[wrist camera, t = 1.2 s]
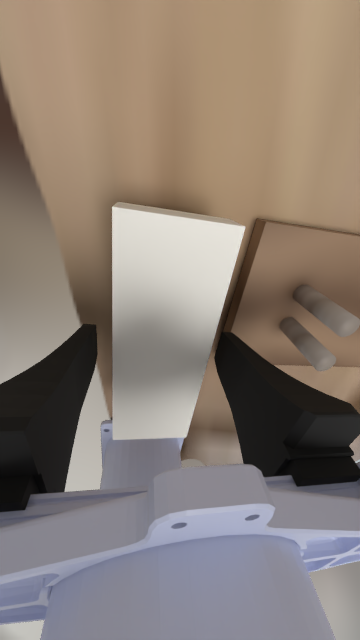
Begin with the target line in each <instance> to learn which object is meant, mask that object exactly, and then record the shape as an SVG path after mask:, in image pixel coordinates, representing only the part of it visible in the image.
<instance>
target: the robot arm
mask: <svg viewBox="0 0 360 640" xmlns="http://www.w3.org/2000/svg"><path fill="white" fill-rule="evenodd" d="M96 359H97V333H96V325H91V324H84V325H82V326H81V327H80V328H79V329H78V330H77V331H76V332H75V333H74V334H73V335H72V336H71V337H70V338H69V339H68V340H67V341H65V342H64V343H63V344H62V345H61V346H60V347H58V348H57V349H56V350H55V351H53V352H52V353H51V354H50V355H48V356H47V357H46V358H44V359H43V360H41V361H40V362H38V363H37V364H35V365H34V366H32V367H31V368H29V369H28V370H26V371H24V372H22V373H20V374H19V375H17V376H15V377H13V378H12V379H10V380H8V381H6V382H4V383H2V384H0V625H2V624H11V623H20V622H30V621H39V620H45V621H44V626H43V630H42V634H41V638H40V640H336V639H335V636H334V634H333V631H332V629H331V627H330V624H329V622H328V620H327V617H326V614H325V612H324V610H323V607H322V605H321V602H320V600H319V597H318V595H317V593H316V590H315V588H314V585H313V583H312V580H311V578H310V575H309V572H313V571H318V570H322V569H326V568H330V567H335V566H338V565H343V564H347V563H351V562H356V561H360V462H358V463H355V462H354V460H353V459H352V457H351V456H353V455H354V452H353V451H352V450H351V448H350V447H349V445H350V444H351V443H352V442H353V441H354V440H355V439H356V438H357V437H358V435H359V434H360V414H359V413H358V412H357V411H356V409H355V408H354V407H353V406H352V405H351V404H350V403H347V402H345V401H342V400H340V399H337V398H335V397H332V396H329V395H327V394H325V393H323V392H320V391H318V390H316V389H314V388H312V387H310V386H308V385H306V384H304V383H302V382H300V381H298V380H296V379H295V378H293V377H291V376H289V375H288V374H286V373H284V372H283V371H281V370H280V369H278V368H277V367H275V366H274V365H272V364H271V363H270V362H268V361H267V360H265V359H264V358H263V357H262V356H260V355H259V354H258V353H256V352H255V351H254V350H253V349H252V348H250V347H249V346H248V345H247V344H246V343H244V342H243V341H242V340H241V339H240V338H239V337H237V336H236V335H235V334H233V333H232V332H222V334H221V337H220V340H219V344H218V347H217V350H216V354H215V357H214V359H215V364H216V368H217V373H218V375H219V378H220V381H221V384H222V386H223V389H224V391H225V394H226V397H227V399H228V402H229V405H230V408H231V411H232V414H233V418H234V422H235V426H236V430H237V434H238V439H239V443H240V448H241V453H242V458H243V463H244V464H228V465H212V466H196V467H182V466H181V457H180V451H181V447H182V444H183V440H184V438H157V439H129V440H113V420H105V421H103V422H102V423H101V444H102V467H103V472H102V478H101V485H100V490H87V491H74V492H64V490H65V484H66V479H67V474H68V469H69V463H70V458H71V453H72V448H73V444H74V439H75V434H76V430H77V425H78V420H79V416H80V412H81V408H82V405H83V402H84V399H85V396H86V393H87V390H88V388H89V384H90V382H91V378H92V375H93V373H94V369H95V364H96Z"/></svg>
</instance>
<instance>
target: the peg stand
mask: <svg viewBox="0 0 360 640" xmlns="http://www.w3.org/2000/svg"><path fill="white" fill-rule="evenodd" d="M223 332H232V333H233V334H235V335H236V336H237V337H239V338H240V339H241V340H242V341H243V342H244V343H246V344H247V345H248V346H249V347H250V348H252V349H253V350H254V351H255V352H256V353H258V354H259V355H260V356H262V357H263V358H264V359H265V360H267V361H268V362H270V363H271V364H272V365H301V366H313V367H314V368H315V369H316V370H317V371H325V370H328V369H329V368H331V367H332V366H338V367H360V235H357V234H351V233H345V232H338V231H332V230H326V229H319V228H313V227H307V226H301V225H294V224H288V223H282V222H275V221H269V220H263V219H257V220H256V223H255V226H254V230H253V233H252V236H251V240H250V243H249V246H248V250H247V253H246V256H245V260H244V263H243V266H242V270H241V273H240V276H239V280H238V283H237V286H236V290H235V293H234V296H233V300H232V303H231V306H230V310H229V313H228V316H227V320H226V323H225V326H224V330H223Z"/></svg>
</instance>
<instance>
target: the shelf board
mask: <svg viewBox="0 0 360 640" xmlns="http://www.w3.org/2000/svg"><path fill="white" fill-rule="evenodd" d="M244 231H245V226H243V225H241V224H239V223H237V222H235V221H233V220H231V219H227V218H221V217H214V216H208V215H201V214H195V213H188V212H182V211H175V210H169V209H162V208H156V207H149V206H143V205H137V204H130V203H124V202H117V203H116V204H115V205H114V206H112V401H113V440H129V439H157V438H184V437H187V433H188V430H189V426H190V423H191V419H192V415H193V412H194V408H195V405H196V401H197V398H198V394H199V391H200V387H201V383H202V380H203V376H204V373H205V369H206V366H207V362H208V359H209V355H210V351H211V348H212V344H213V341H214V337H215V334H216V330H217V327H218V323H219V319H220V316H221V312H222V309H223V305H224V302H225V298H226V295H227V291H228V287H229V284H230V280H231V277H232V273H233V270H234V266H235V263H236V259H237V255H238V252H239V248H240V245H241V241H242V238H243V234H244Z"/></svg>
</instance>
